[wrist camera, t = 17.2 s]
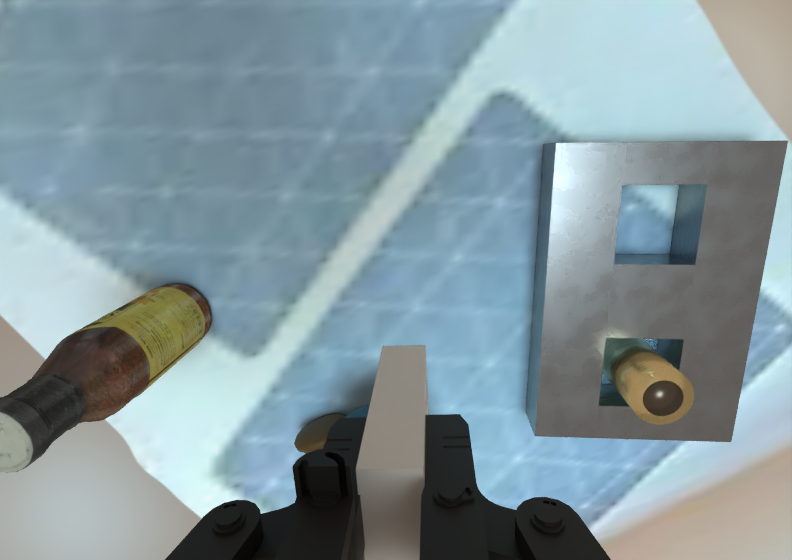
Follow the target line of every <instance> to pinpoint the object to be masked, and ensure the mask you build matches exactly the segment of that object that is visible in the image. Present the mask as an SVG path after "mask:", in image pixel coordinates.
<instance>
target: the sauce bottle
mask: <svg viewBox="0 0 792 560" xmlns="http://www.w3.org/2000/svg"><path fill="white" fill-rule="evenodd" d="M210 324H211V316H210V310H209V307H208V304H207V302H206V301H205V300H204V298H203V296H201V295H200V294H199V293H198V292H197V291H196V290H193V289H192V288H190V287H188V286H185V285H181V284H173V285H165V286H162V287H159V288H156V289H154V290H151V291H149V292H148V293H146V294H144V295H142V296H140V297H138V298H137V299H135V300H133V301H131V302H129V303H127V304H126V305H124V306H122V307H120V308H118V309H116V310H115V311H113V312H111V313H109V314H107V315H105V316H103V317H102V318H100V319H98V320H96V321H94V322H93V323H91V324H89V325H87V326H85V327H83V328H82V329H80V330H78V331H76V332H74V333H73V334H71V335H69V336H67V337H66V338H64V339H63V340H62V341H61V342H60V343H59V344H58V345H57V346H56V348H55V349H54V350H53V351H52V353H51V354H50V355H49V357H48V358H47V359H46V361H45V362H44V363H43V364H42V366H41V367H40V368H39V370H38V371H37V372H36V374H35V375H34V376H33V377H32V379H30V380H29V381H28V382H27V383H26V384H24V385H23V386H21V387H20V388H18V389H16V390H14V391H13V392H11V393H10V394H8V395H7V396H5V397H1V398H0V472H6V473H8V472H18V471H19V470H22V469H24V468H25V467H27V466H29V465H30V464H31V463H32V462H34V461H35V460H36V459H38V458H39V457H41V456H42V454H44V453H45V451H46V450H47V449H48V447H49V446H50V445H51V443H52V442H53V441H54V440H56V439H57V438H58V437H60V436H61V435H62V434H63V433H64V432H66V431H67V430H70V429H71V428H73V427H75V426H76V425H77V424H78V423H81V422H92V421H100V420H104V419H106V418H107V417H109V416H111V415H113V414H115V413H116V412H118V411H119V410H120V409H122V408H123V407H124V406H125V405H126V404H127V403H129V402H130V401H131V400H132V399H133V398H135V397H137V396H138V395H140V394H141V393H142V392H144V391H145V390H146V389H147V388H148V387H149V386H151V385H152V384H153V383H154V382H155V381H156V380H157V379H158V378H160V377H161V376H162V375H163V374H164V373H165V372H166V371H168V370H169V369H170V368H171V367H172V366H173V365H175V364H176V363H177V362H178V361H179V360H180V359H181V358H182V357H184V356H185V355H186V354H187V353H188V352H189V351H190V350H192V349H193V348H194V347H195V346H196V345H197V344H198V343H199V342H200V341H201V340H202V338H203V337H204V336H205V334H206V333H207V332H208V330H209V328H210Z"/></svg>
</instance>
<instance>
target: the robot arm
mask: <svg viewBox="0 0 792 560" xmlns="http://www.w3.org/2000/svg"><path fill="white" fill-rule="evenodd" d="M293 474H294V481H295V488H296V495H297V498H296V501H295V503H294V504H292V505H290V506H288V507H285V508H282V509H279V510H275V511H271V512H267V513H263V514H261V513H260V509H259V508H258V507H257V505H256V504H255V503H252V502H250V501H247V500H235V501H231V502H226V503H223V504H221V505H219V506H217V507H215V508H213V509H212V510H211V511H210V512H209V513H208V514H206V515H205V516H204V517H203V518H202V519H201V520H200V522H199V523H198V524H197V525H196V526H195V527H194V528H193V529H192V530H191V531H190V533H189V534H188V535H187V536H186V537H185V538H184V539H183V540H182V541H181V543H180V544H179V545H178V546H177V547H176V548H175V549H174V550H173V551H172V553H171V554H170V555H169V556H168V557H167V558H166V559H165V560H363V555H364V558H365V560H611V559H610V558H609V557H608V555H607V554H606V552H605V551H604V550H603V548H602V547H601V546H600V544H599V543H598V541H597V540H596V539H595V537H594V536H593V535H592V533H591V532H590V530H589V529H588V528H587V526H586V525H585V523H584V522H583V521H582V519H581V518H580V517H579V515H578V514H577V513H576V512H575V511H574V510H573V509H572V508H571V507H570V506H569V505H567V504H565V503H563V502H561V501H559V500H556V499H551V498H547V497H535V498H531V499H528V500H526V501H524V502H523V503H521V504H520V505H519V506H518V507H517V510H513V509H509V508H505V507H502V506H499V505H496V504H494V503H493V502H491V501H489V500H488V499H486V498H485V497H484V496H483V495H482V494H481V492H480V491H479V490H478V487H477V484H476V478H475V470H474V463H473V456H472V449H471V441H470V434H469V427H468V424H467V422H466V421H465V420H464V419H463V418H462V417H461V415H460V414H452V415H429V411H428V390H427V369H426V348H425V345H414V346H383V347H382V352H381V356H380V361H379V365H378V370H377V375H376V379H375V384H374V388H373V393H372V397H371V402H370V406H369V411H368V415H367V417H354V418H340V419H339V420H338V421H337V422H336V423H335V424H334V425H332V426H331V427H330V430H329V433H328V435H327V438H326V442H325V444H324V447H323V449H318V450H314V451H312V452H309V453H306V454H305V455H303V456H302V457H300V458H299V459H298V460H297V461H296V462H295V464H294V465H293Z"/></svg>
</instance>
